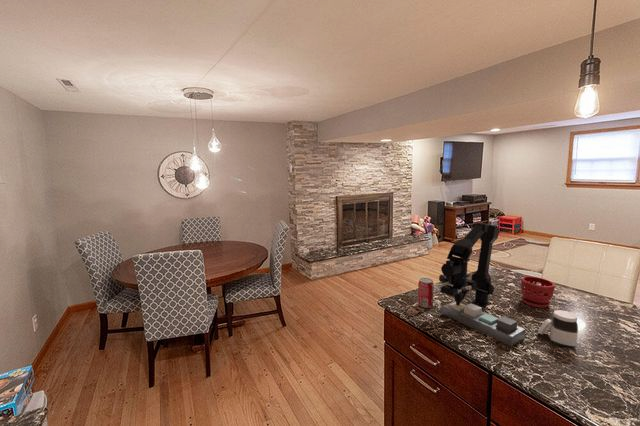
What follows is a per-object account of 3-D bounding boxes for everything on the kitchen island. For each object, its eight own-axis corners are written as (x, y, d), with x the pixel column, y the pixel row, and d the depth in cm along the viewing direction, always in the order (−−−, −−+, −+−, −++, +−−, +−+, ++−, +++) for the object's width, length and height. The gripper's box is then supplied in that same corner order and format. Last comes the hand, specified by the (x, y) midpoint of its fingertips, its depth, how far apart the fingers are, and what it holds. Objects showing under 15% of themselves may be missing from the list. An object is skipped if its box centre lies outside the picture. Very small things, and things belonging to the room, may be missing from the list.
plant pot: (523, 307, 142) (525, 283, 141) (516, 296, 154) (518, 274, 153) (556, 312, 137) (559, 287, 136) (547, 300, 150) (549, 277, 148)
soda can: (434, 309, 141) (435, 283, 139) (418, 308, 143) (419, 282, 141) (431, 303, 148) (432, 278, 146) (416, 301, 149) (417, 277, 148)
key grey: (470, 312, 132) (470, 303, 132) (481, 317, 128) (481, 307, 127) (463, 315, 130) (464, 306, 129) (474, 320, 125) (475, 310, 125)
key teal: (485, 323, 127) (486, 313, 126) (497, 328, 122) (498, 318, 122) (478, 326, 124) (479, 316, 123) (490, 331, 120) (491, 321, 119)
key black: (502, 326, 120) (503, 316, 120) (516, 331, 116) (517, 321, 116) (496, 329, 118) (497, 319, 117) (509, 335, 114) (510, 325, 113)
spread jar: (577, 352, 107) (581, 322, 105) (539, 343, 113) (542, 314, 111) (571, 337, 117) (575, 309, 115) (536, 329, 123) (539, 302, 121)
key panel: (455, 308, 141) (455, 300, 141) (524, 338, 116) (525, 329, 116) (441, 314, 136) (442, 306, 136) (511, 346, 111) (512, 336, 110)
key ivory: (455, 310, 138) (456, 301, 138) (465, 314, 134) (466, 305, 134) (449, 313, 136) (449, 304, 135) (459, 317, 132) (459, 308, 131)
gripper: (456, 263, 144) (454, 294, 146) (431, 270, 134) (429, 303, 136) (478, 269, 134) (476, 302, 137) (453, 278, 125) (451, 312, 127)
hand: (457, 304), depth 134 cm, fingers closed
